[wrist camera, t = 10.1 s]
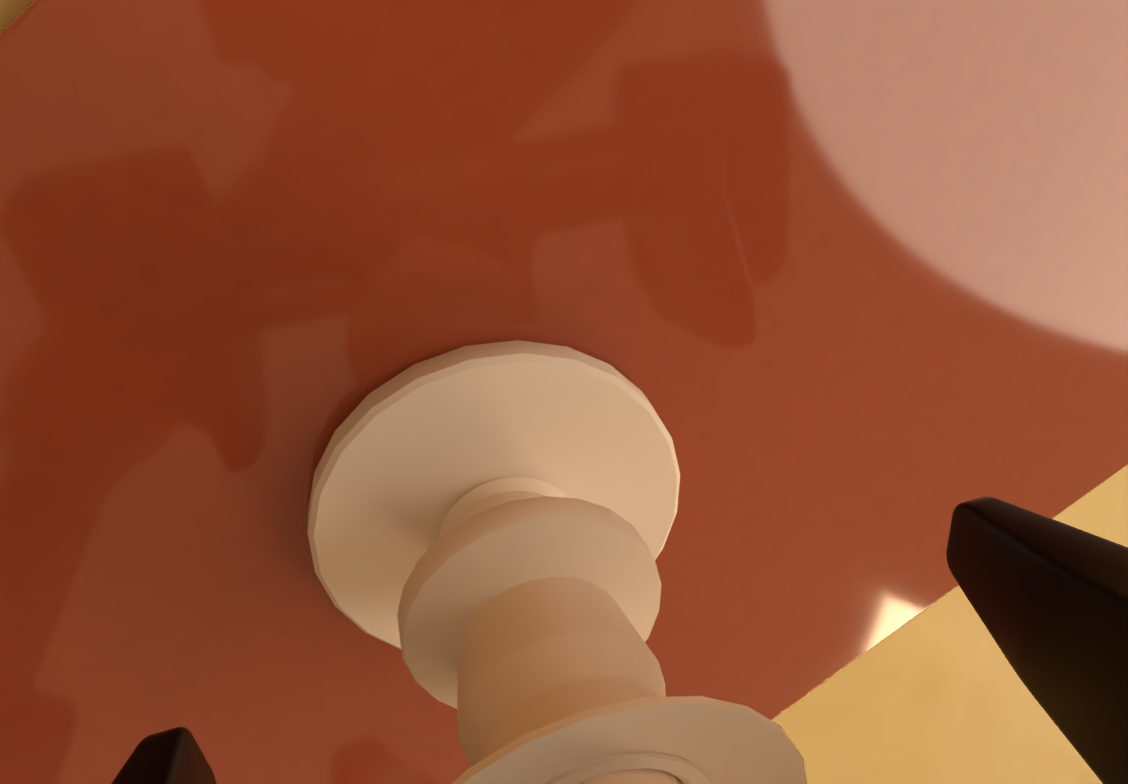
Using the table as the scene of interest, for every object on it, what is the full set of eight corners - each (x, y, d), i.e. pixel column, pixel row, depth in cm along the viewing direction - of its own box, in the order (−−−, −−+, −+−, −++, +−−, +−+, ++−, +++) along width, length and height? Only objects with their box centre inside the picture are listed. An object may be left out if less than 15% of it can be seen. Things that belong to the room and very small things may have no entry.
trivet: (400, 955, 18) (403, 985, 17) (-565, 595, 9) (-611, 633, 9) (1202, 375, 16) (1233, 391, 15) (870, -812, 7) (914, -866, 7)
